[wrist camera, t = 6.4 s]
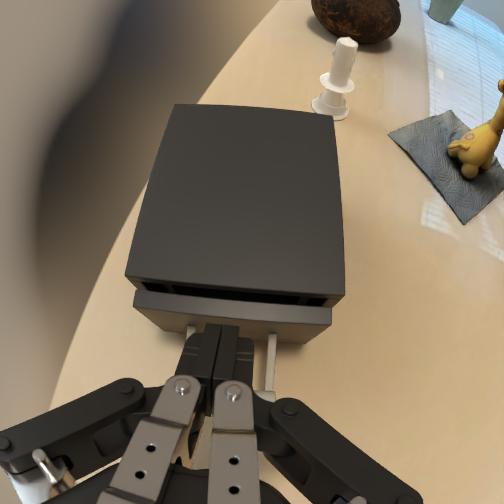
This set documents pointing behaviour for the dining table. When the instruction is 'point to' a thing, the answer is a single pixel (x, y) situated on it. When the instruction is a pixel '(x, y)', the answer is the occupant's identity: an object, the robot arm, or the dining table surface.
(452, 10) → the disposable coffee cup
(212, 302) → the drawer
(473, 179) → the stuffed giraffe
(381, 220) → the dining table surface
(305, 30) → the dining table surface
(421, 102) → the dining table surface
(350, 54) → the candle
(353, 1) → the glass bottle
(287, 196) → the dark gray cabinet
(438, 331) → the dining table surface
